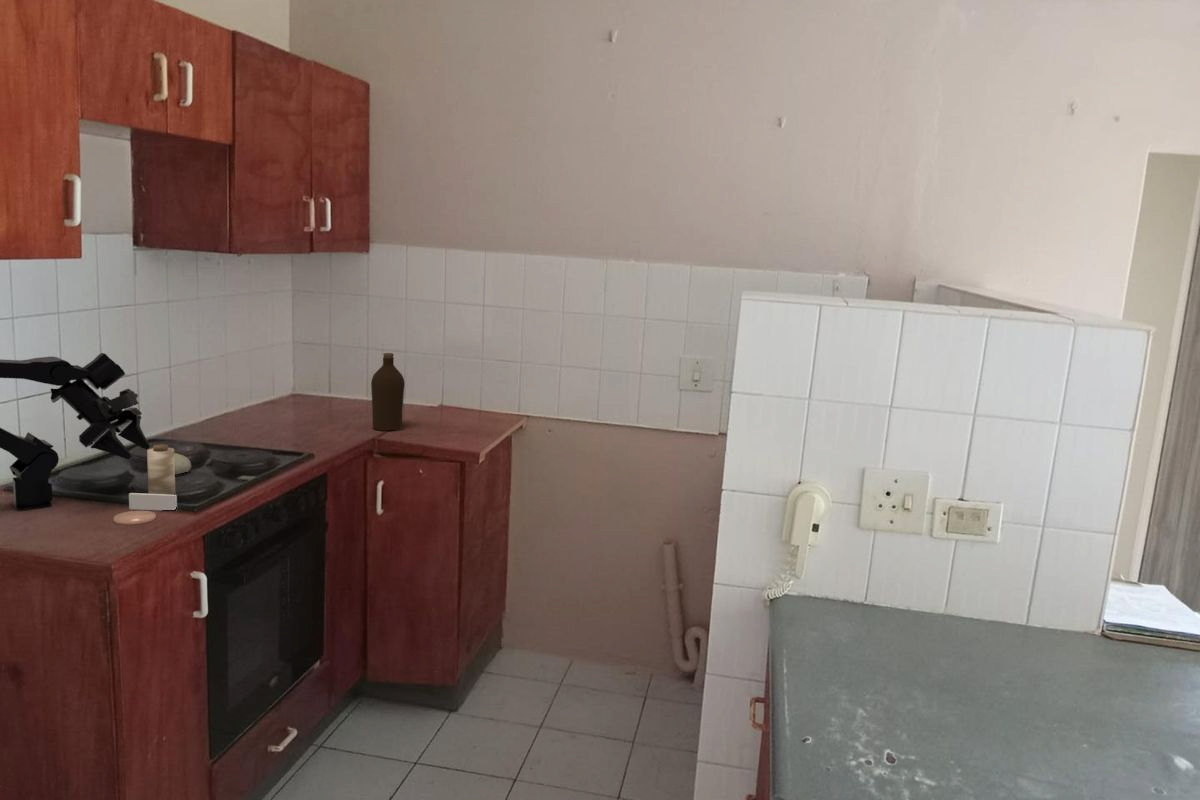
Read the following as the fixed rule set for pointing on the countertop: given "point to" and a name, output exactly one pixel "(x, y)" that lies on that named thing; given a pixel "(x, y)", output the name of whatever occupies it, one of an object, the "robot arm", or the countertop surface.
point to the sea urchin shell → (181, 463)
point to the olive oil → (387, 396)
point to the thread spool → (161, 470)
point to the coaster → (134, 517)
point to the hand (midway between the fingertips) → (139, 452)
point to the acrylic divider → (152, 501)
